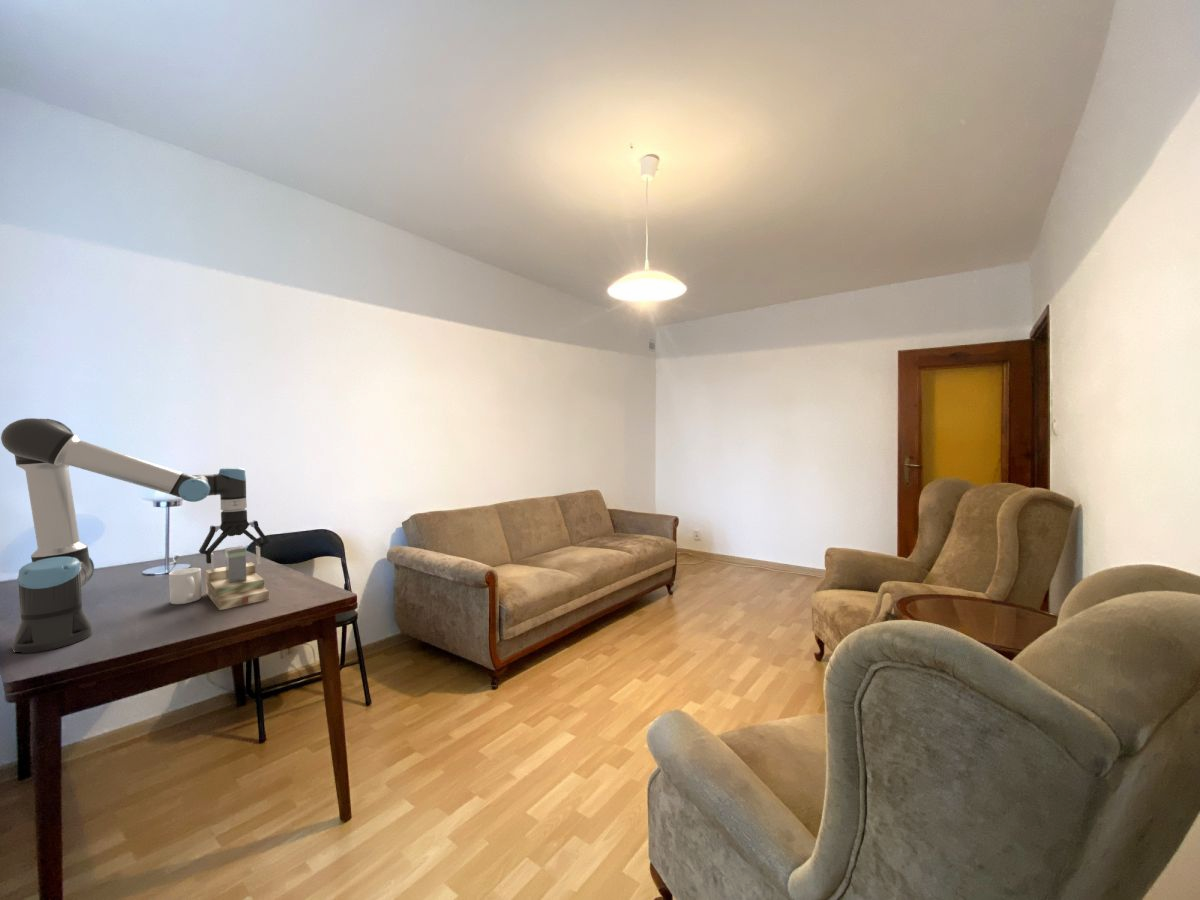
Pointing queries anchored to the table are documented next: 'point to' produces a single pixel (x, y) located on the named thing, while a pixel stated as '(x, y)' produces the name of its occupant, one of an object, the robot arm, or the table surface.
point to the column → (235, 564)
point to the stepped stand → (235, 588)
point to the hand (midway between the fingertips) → (236, 567)
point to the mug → (185, 585)
